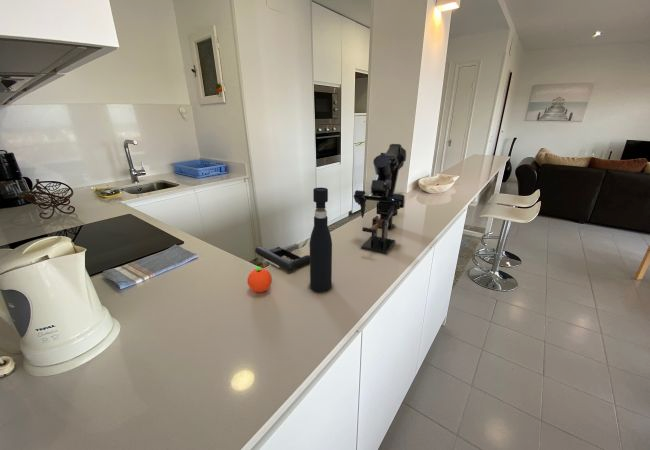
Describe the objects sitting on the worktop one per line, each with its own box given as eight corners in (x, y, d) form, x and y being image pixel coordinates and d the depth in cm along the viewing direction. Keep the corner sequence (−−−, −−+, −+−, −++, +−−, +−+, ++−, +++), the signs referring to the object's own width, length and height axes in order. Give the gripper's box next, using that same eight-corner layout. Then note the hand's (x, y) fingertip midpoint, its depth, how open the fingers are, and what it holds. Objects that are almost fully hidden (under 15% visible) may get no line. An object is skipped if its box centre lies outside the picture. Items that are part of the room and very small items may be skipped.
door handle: (286, 237, 112) (251, 247, 100) (321, 253, 99) (286, 266, 88) (286, 245, 113) (252, 256, 101) (321, 261, 100) (286, 276, 89)
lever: (375, 235, 95) (376, 228, 94) (361, 232, 97) (362, 226, 97) (387, 226, 107) (388, 220, 106) (375, 223, 109) (375, 218, 109)
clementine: (246, 284, 84) (244, 264, 82) (269, 280, 87) (267, 259, 84) (250, 299, 77) (248, 277, 75) (275, 293, 80) (273, 272, 77)
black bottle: (315, 294, 79) (314, 193, 69) (306, 283, 85) (304, 187, 74) (335, 288, 82) (337, 190, 71) (325, 278, 88) (325, 185, 77)
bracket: (386, 254, 103) (388, 225, 99) (361, 248, 108) (362, 220, 103) (395, 242, 113) (397, 216, 109) (371, 238, 117) (373, 212, 113)
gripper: (355, 169, 104) (345, 205, 98) (407, 172, 97) (399, 211, 92) (360, 185, 113) (351, 219, 108) (407, 189, 107) (400, 225, 101)
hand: (374, 218), depth 102 cm, fingers open, 9 cm apart
